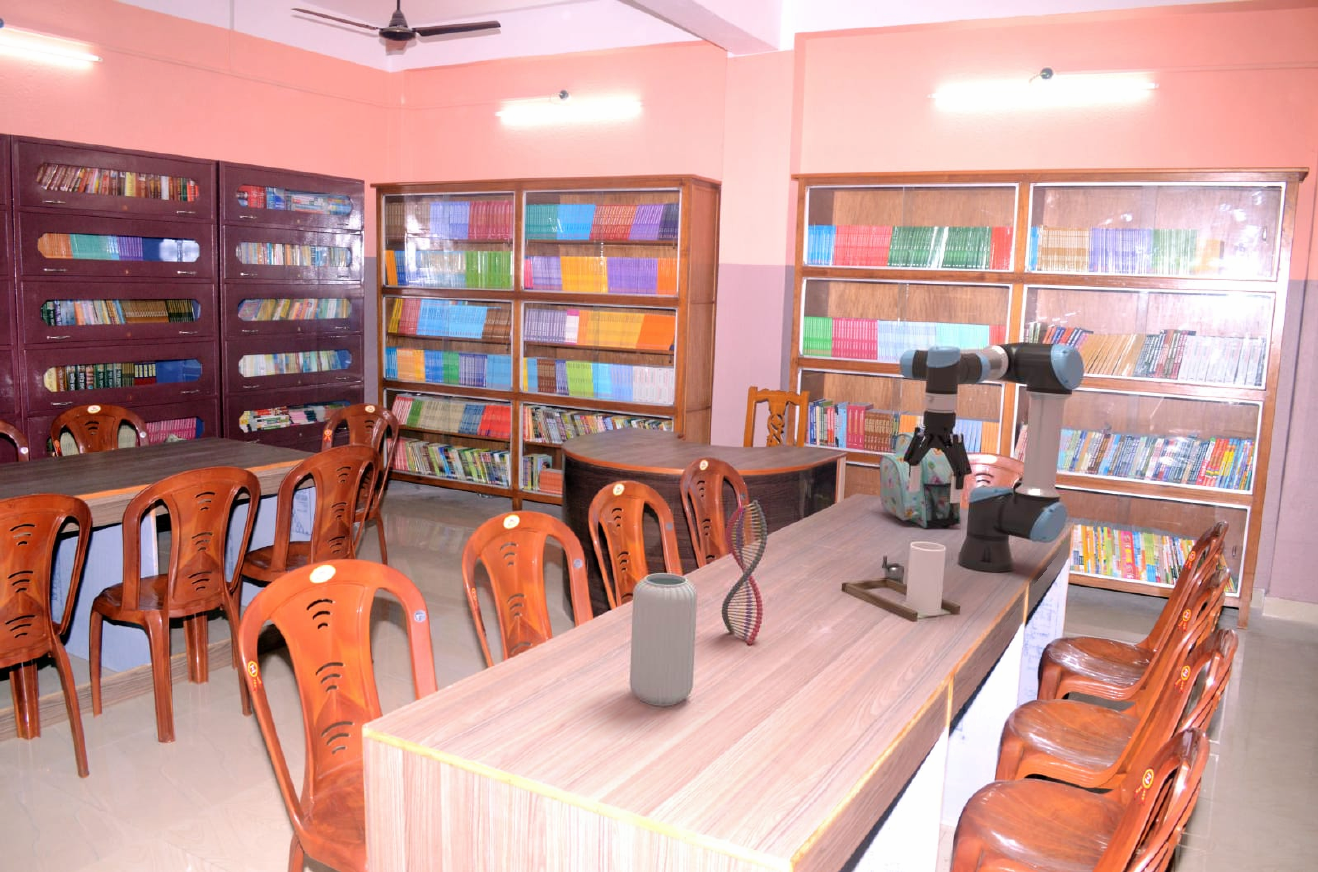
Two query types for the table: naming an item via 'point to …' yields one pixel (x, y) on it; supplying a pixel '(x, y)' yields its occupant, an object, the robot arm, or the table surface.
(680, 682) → the vase
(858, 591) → the frame
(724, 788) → the table surface
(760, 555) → the dna model
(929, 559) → the cup
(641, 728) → the table surface
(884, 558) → the winch drum
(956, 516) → the backpack
